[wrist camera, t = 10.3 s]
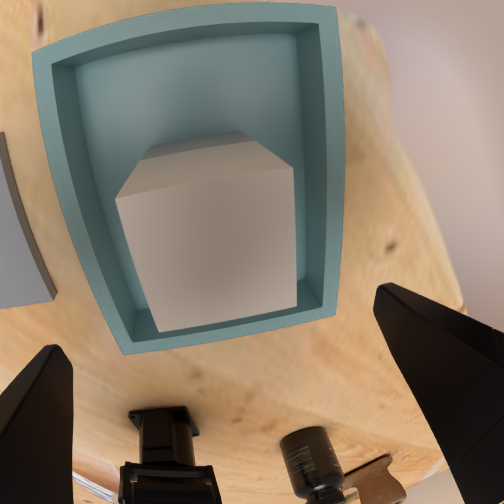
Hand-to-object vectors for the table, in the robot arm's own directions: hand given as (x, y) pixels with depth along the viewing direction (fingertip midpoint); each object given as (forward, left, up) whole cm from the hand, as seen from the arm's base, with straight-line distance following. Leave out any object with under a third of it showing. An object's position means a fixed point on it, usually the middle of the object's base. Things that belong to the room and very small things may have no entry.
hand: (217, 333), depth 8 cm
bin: (+1, 0, -12) cm, 12 cm away
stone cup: (-70, -24, -12) cm, 75 cm away
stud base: (+1, +18, -12) cm, 21 cm away
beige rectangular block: (+1, 0, -11) cm, 11 cm away
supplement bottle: (-36, -7, -12) cm, 39 cm away
